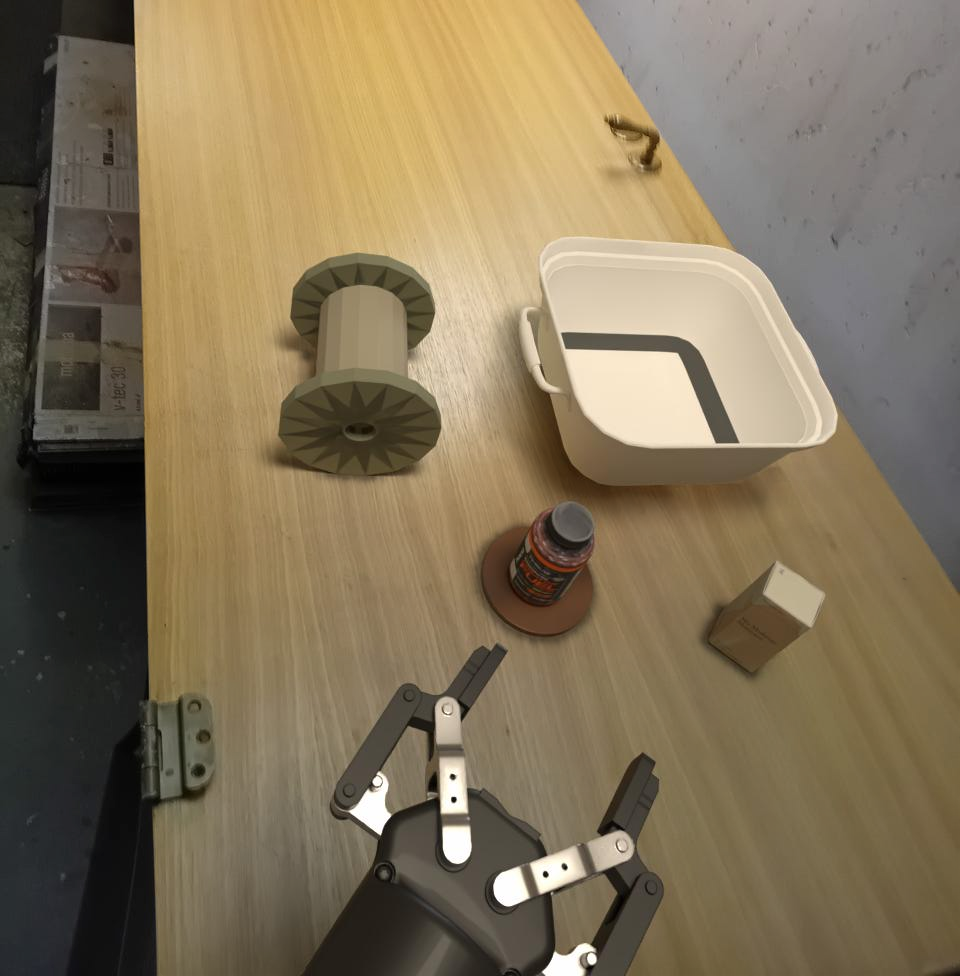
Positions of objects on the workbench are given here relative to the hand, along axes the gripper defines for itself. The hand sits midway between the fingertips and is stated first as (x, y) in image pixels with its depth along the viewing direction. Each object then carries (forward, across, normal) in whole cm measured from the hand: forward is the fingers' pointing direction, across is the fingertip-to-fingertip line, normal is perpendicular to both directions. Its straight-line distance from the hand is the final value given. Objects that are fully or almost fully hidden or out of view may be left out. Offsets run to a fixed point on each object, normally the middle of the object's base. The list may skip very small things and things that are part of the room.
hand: (569, 704), depth 42 cm
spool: (+28, +32, +32) cm, 53 cm away
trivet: (+24, +6, +32) cm, 40 cm away
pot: (+50, +7, +32) cm, 59 cm away
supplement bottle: (+24, +6, +32) cm, 40 cm away
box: (+32, -14, +32) cm, 47 cm away
